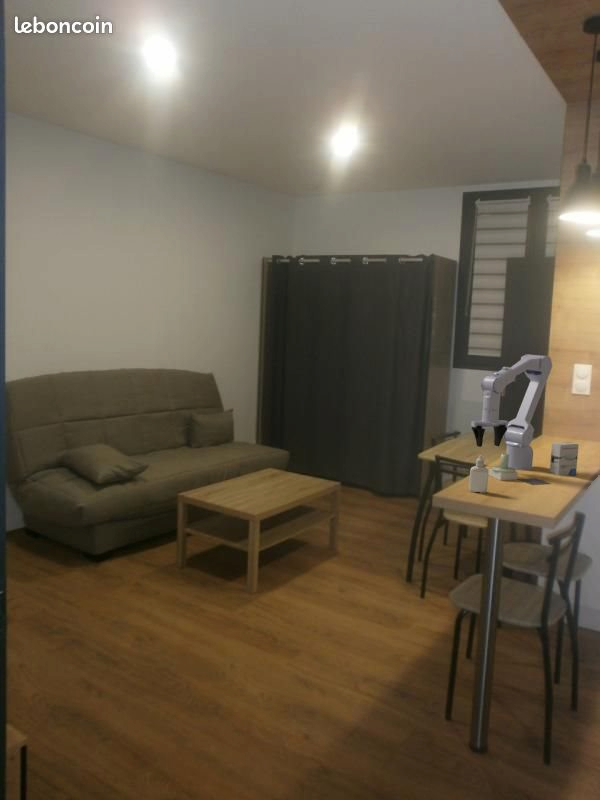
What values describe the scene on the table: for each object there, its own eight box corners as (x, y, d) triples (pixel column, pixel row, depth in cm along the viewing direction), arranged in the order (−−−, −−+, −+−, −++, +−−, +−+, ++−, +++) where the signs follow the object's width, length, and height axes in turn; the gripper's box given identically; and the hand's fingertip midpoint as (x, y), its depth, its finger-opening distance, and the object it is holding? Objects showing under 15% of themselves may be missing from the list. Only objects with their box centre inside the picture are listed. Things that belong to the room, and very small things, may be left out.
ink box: (566, 472, 248) (569, 441, 247) (576, 475, 244) (579, 444, 242) (548, 473, 245) (551, 442, 244) (558, 476, 241) (561, 444, 239)
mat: (536, 479, 235) (536, 478, 235) (551, 485, 228) (551, 483, 228) (517, 480, 232) (517, 479, 232) (532, 486, 225) (532, 485, 225)
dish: (504, 475, 238) (505, 467, 238) (517, 480, 232) (517, 472, 231) (488, 476, 236) (488, 468, 236) (500, 481, 229) (501, 473, 229)
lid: (505, 467, 238) (506, 451, 238) (520, 472, 231) (521, 456, 230) (487, 468, 235) (488, 452, 235) (502, 473, 228) (503, 457, 227)
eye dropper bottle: (483, 494, 211) (486, 457, 210) (466, 491, 215) (469, 455, 213) (488, 492, 215) (491, 455, 213) (472, 488, 218) (474, 453, 217)
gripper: (480, 411, 233) (477, 448, 235) (514, 410, 238) (511, 447, 240) (469, 408, 240) (466, 445, 241) (502, 407, 245) (499, 443, 246)
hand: (488, 446), depth 241 cm, fingers open, 7 cm apart
